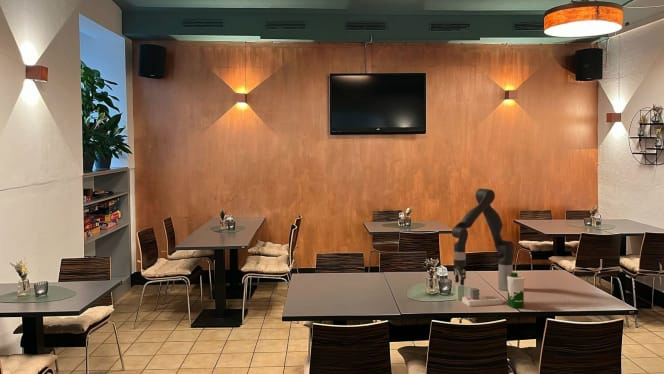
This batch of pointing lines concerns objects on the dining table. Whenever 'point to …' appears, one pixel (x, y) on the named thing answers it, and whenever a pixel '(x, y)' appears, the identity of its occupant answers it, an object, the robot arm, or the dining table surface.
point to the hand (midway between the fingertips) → (459, 283)
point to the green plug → (459, 292)
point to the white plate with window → (481, 299)
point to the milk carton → (515, 290)
